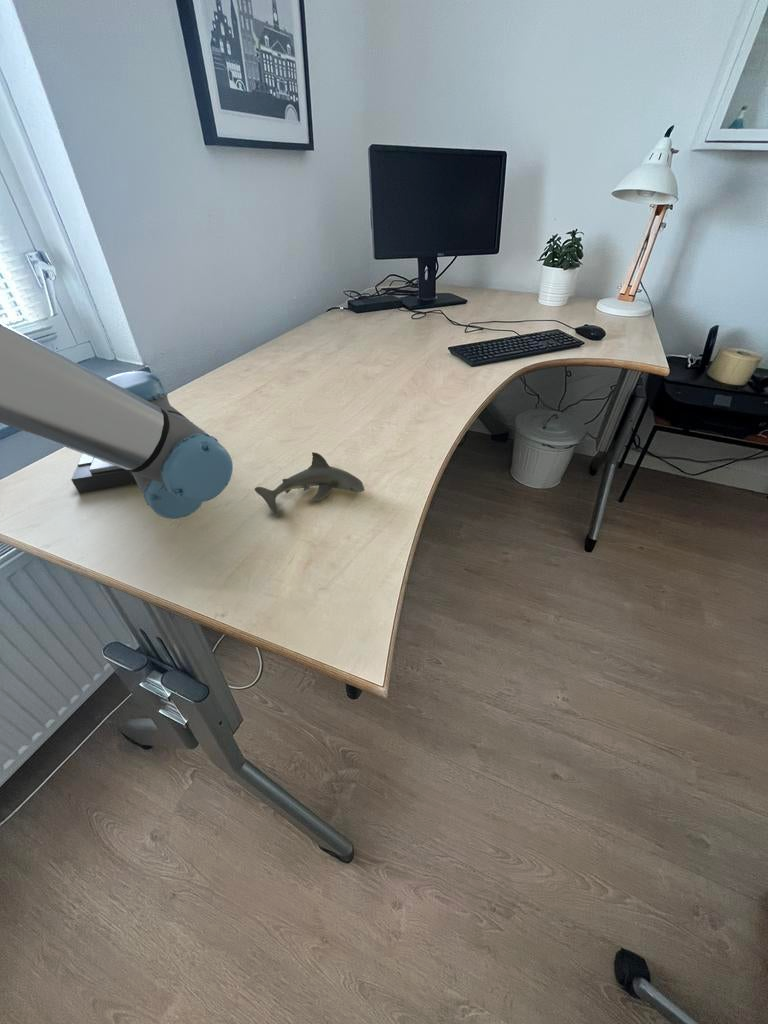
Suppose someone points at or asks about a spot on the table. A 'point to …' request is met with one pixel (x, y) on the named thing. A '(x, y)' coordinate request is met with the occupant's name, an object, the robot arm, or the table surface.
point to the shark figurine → (314, 482)
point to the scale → (99, 475)
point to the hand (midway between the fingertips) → (116, 404)
